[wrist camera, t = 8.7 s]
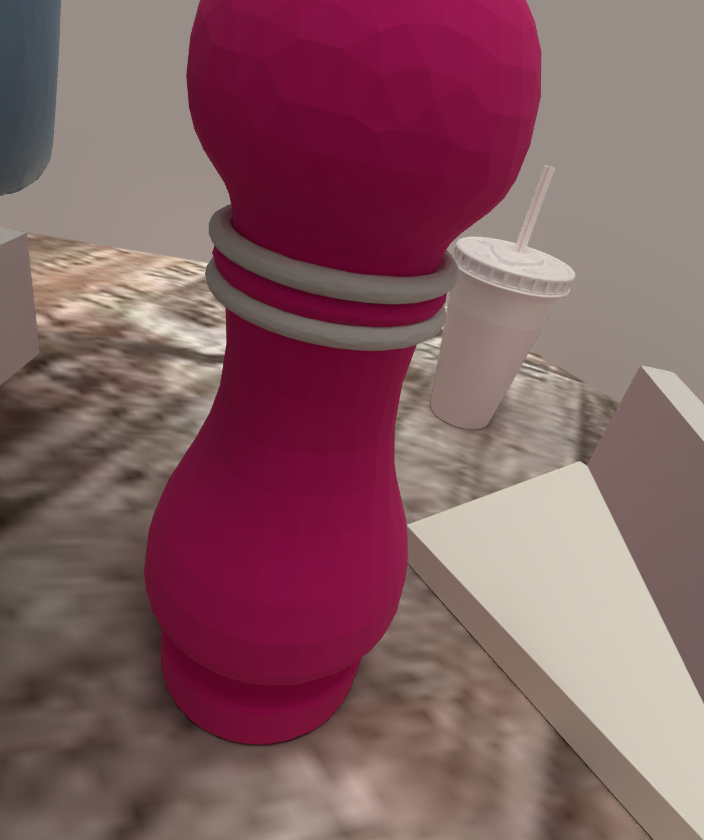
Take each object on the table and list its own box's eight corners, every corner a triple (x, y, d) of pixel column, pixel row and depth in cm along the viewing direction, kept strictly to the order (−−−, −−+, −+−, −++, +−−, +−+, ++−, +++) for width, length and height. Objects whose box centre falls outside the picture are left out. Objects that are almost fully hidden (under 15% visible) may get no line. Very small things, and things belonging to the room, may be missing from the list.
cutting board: (397, 551, 23) (406, 525, 22) (568, 483, 30) (579, 461, 29) (862, 1074, 13) (911, 1060, 12) (964, 785, 19) (999, 763, 19)
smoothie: (521, 412, 36) (620, 181, 28) (496, 457, 31) (608, 191, 23) (429, 374, 38) (500, 148, 30) (391, 411, 33) (465, 151, 25)
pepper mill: (324, 549, 23) (487, -113, 12) (408, 721, 17) (831, -190, 7) (132, 583, 19) (121, -272, 9) (162, 806, 14) (224, -653, 4)
